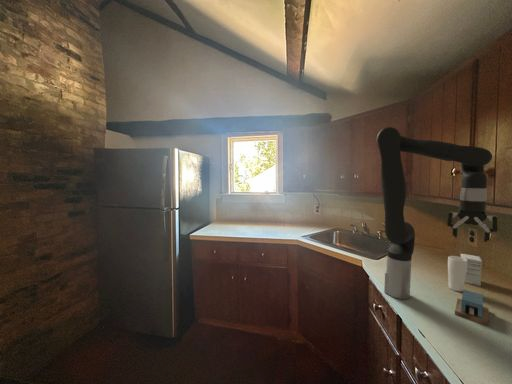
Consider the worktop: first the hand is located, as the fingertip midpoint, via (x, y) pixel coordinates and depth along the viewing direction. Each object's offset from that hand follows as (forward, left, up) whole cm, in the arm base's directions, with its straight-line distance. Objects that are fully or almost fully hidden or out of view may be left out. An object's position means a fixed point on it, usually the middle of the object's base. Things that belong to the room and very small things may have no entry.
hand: (470, 239), depth 88 cm
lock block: (+2, -5, -27) cm, 27 cm away
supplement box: (0, +29, -28) cm, 41 cm away
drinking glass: (-4, +14, -28) cm, 32 cm away
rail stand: (+2, -5, -28) cm, 29 cm away
